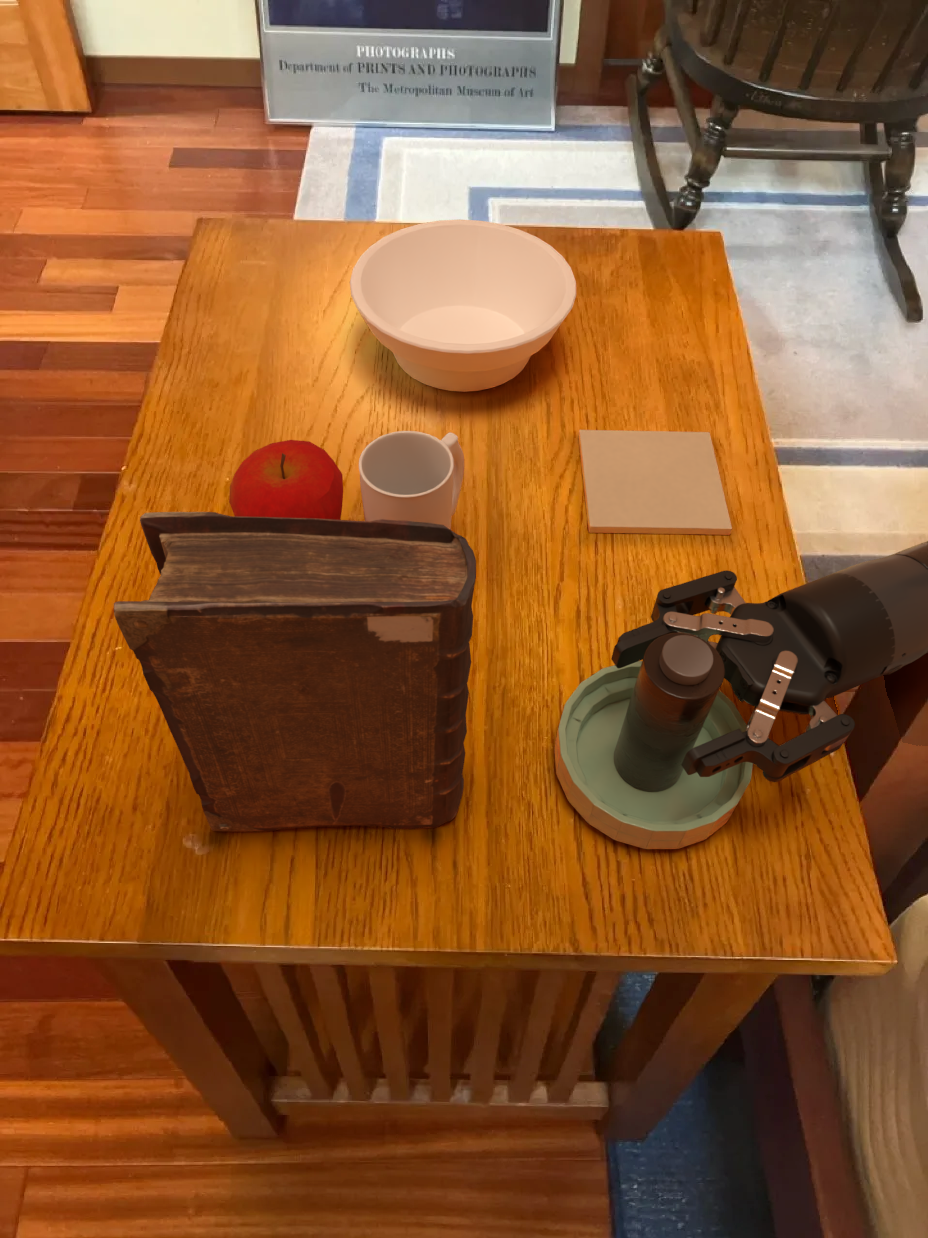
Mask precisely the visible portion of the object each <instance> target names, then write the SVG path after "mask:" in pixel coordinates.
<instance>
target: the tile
mask: <svg viewBox="0 0 928 1238" xmlns="http://www.w3.org/2000/svg"><path fill="white" fill-rule="evenodd" d="M577 438H578V444H579V455H580V465H581V472H582V473H581V474H582V482H583V483H582V484H583V491H584V502H585V511H586V519H587V529H588V533H591V534H594V533H595V534H643V535H644V534H645V535H646V534H648V535H649V534H651V535H654V534H655V535H709V536H710V535H711V536H713V535H715V536H716V535H717V536H730V535H731V534H732V530H733V526H732V522H731V517H730V513H729V509H728V504H727V501H726V497H725V496H726V495H725V493H724V488H723V483H722V479H721V476H720V471H719V466H718V462H717V458H716V453H715V450H714V445H713V439H712V436H711V432H710V431H677V430H676V431H673V430H670V431H669V430H622V429H621V430H619V429H618V430H615V429H613V430H611V429H607V430H606V429H579V431H578V437H577Z"/></svg>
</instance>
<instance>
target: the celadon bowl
mask: <svg viewBox="0 0 928 1238" xmlns="http://www.w3.org/2000/svg"><path fill="white" fill-rule="evenodd" d="M642 661H643V660H640V661H638V662H635V663H632V664H630V665H627V666H625V667H622V668H617V667H616V665H615V664H614V665H611V666H606V667H603V668H601V669H599V670H598V671H596V672H595V673H594V674H592V675H590V676H589V677H587V678H586V679H584V680H582V681H581V682H580V683H579V685H577V687H576V689H574V691H573V692H572V694H571V695H570V696H569V697H568V699H567V700H566V702H565V703H564V706H563V710H562V713H561V716H560V719H559V724H558V727H557V732H556V738H555V741H554V747H553V751H554V763H555V774H556V777H557V779H558V781H559V785H560V786H561V788H562V790H563V793H564V795H565V797H566V800H567V801H568V802H569V804H570V805H571V806H572V807H573V808H574V809H575V811H576V812H577V813H578V814H579V815H580V816H581V818H583V819H584V821H585V822H586V823H587V824H588V825H589V826H592V827H593V828H594V829H596V830H598V831H599V832H601V833H602V834H604V835H606V836H607V837H609V838H611V839H612V840H613V841H616V842H620V843H623V844H626V845H630V846H633V847H637V848H641V849H643V850H680V849H681V848H685V847H687V846H692V845H694V844H697V843H700V842H703V841H705V840H707V839H708V838H709V837H710V836H712V835H713V834H715V833H716V832H717V831H718V830H719V829H721V828H722V827H723V826H724V825H725V824H727V822H728V821H729V820H730V818H731V816H732V814H733V813H734V811H735V809H736V807H737V805H738V804H739V802H740V801H741V799H742V797H743V795H744V794H745V792H746V790H747V789H748V786H749V785H750V783H751V781H752V774H753V767H754V764H753V763H750V762H742V763H739V764H737V765H735V766H732V767H730V768H728V769H726V770H723V771H721V772H719V773H716V774H714V775H712V776H710V777H700V776H699V775H698V773H697V772H696V773H694V774H692V775H688V774H687V773H686V771H685V770H684V769H683V771H682V774H681V776H680V778H679V779H678V781H677V782H676V783H675V784H674V785H673V786H671V787H670V788H668V789H666V790H663V791H659V792H646V791H642V790H639V789H636V788H634V787H632V786H631V785H629V784H628V783H627V782H625V781H624V780H623V779H622V778H621V776H620V775H619V773H618V772H617V770H616V767H615V764H614V751H615V748H616V744H617V741H618V738H619V735H620V731H621V728H622V725H623V722H624V719H625V715H626V712H627V709H628V706H629V703H630V699H631V696H632V693H633V690H634V687H635V683H636V680H637V677H638V674H639V671H640V667H641V664H642ZM746 726H747V722H745V720H744V718H743V716H742V715H741V713H740V712H739V709H738V708H737V705H736V704H735V703H734V702H733V700H731V699H730V698H729V697H728V696H727V695H725V693H724V692H723V691H722V690H721V689H719V691H718V693H717V696H716V698H715V700H714V702H713V705H712V707H711V709H710V711H709V713H708V716H707V718H706V720H705V722H704V725H703V727H702V729H701V731H700V734H699V736H698V738H697V740H696V742H695V745H694V747H697V746H699V745H701V744H704V743H706V742H708V741H711V740H713V739H715V738H718V737H720V736H723V735H725V734H727V733H730V732H732V731H734V730H737V729H740V730H741V731H742V733H743V732H745V730H746ZM694 747H693V748H694Z"/></svg>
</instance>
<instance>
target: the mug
mask: <svg viewBox="0 0 928 1238" xmlns="http://www.w3.org/2000/svg"><path fill="white" fill-rule="evenodd" d="M358 471H359V484H360V492H361V500H362V510H363V517H364V521H374V520H380V519H385V520H396V521H414V522H424V523H433V524H440V525H444V526H446V527H447V528H448V529H450V530H451V531H452V517H453V516H454V515H455V513H456V511H457V507H458V503H459V499H460V495H461V491H462V485H463V480H464V474H465V455H464V451H463V449H462V446H461V445H460V443H459V436H458V435H457V434H456V433H453V432H447V433H446V434H445V435H444V436H443V437H442V438H441V439H440V438H438V437H436V436H435V435H432V434H429V433H426V432H422V431H416V430H398V431H393V432H388V433H385V434H383V435H381V436H378V437H377V438H375V439H374V440H372V441H371V442H369V443H368V444H367V445H366V446H365V447H364V448H363V450H362V452H361V453H360V456H359V459H358Z"/></svg>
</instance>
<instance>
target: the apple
mask: <svg viewBox="0 0 928 1238" xmlns="http://www.w3.org/2000/svg"><path fill="white" fill-rule="evenodd" d="M343 477H344V476H343V472H342V471H341V470H340V468H339V466H338V465H337V464H336V462H335V461H334V459H333V458H332V457H331V456H330V455H329V453H328V452H327V451H326V450H325V449H323V448H322V447H320V446H318V445H317V444H315V443H313V442H311V441H308V440H295V439H286V440H282V441H277V442H271V443H269V444H267V445H264V446H262V447H260V448H258V449H255V450H254V451H252V452H251V454H249V455H248V456H247V457H246V458H245V459H244V460H243V461H242V462H241V463H240V464H239V466H238V468H237V470H236V471H235V472H234V474H233V477H232V480H231V482H230V484H229V495H228V496H229V498H228V503H229V506H230V508H231V511H232V513H233V516H238V517H284V518H317V519H335V520H342V513H343V512H342V511H343V500H344V499H343V498H344V479H343Z"/></svg>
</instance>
